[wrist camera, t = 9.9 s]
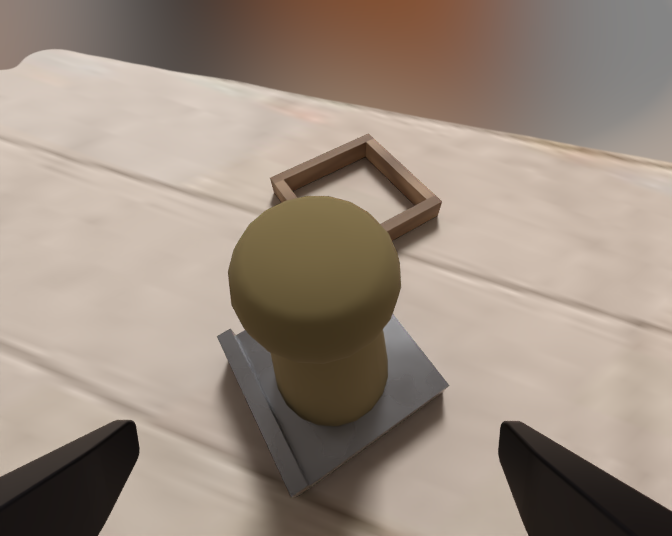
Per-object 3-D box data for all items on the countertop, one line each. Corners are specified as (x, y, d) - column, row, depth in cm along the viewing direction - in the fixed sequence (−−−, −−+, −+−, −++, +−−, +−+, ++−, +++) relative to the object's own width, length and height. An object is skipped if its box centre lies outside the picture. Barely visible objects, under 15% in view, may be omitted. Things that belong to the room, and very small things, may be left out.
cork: (409, 394, 18) (472, 292, 8) (298, 448, 17) (227, 400, 7) (358, 297, 21) (362, 143, 11) (260, 338, 20) (177, 204, 10)
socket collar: (437, 215, 26) (442, 201, 24) (333, 273, 23) (332, 261, 22) (367, 148, 30) (368, 133, 29) (273, 192, 28) (270, 177, 26)
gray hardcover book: (442, 392, 19) (454, 380, 17) (298, 496, 17) (291, 497, 15) (356, 279, 23) (356, 258, 21) (230, 351, 21) (216, 336, 19)
